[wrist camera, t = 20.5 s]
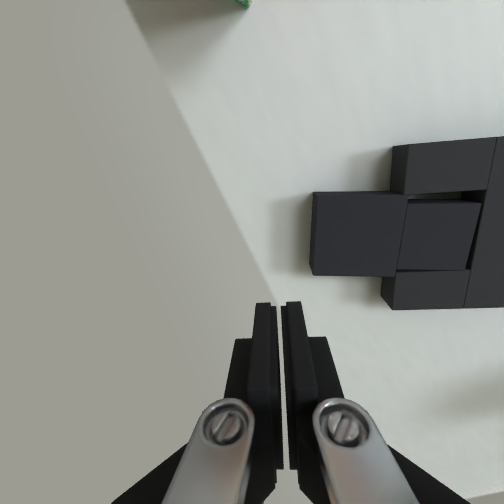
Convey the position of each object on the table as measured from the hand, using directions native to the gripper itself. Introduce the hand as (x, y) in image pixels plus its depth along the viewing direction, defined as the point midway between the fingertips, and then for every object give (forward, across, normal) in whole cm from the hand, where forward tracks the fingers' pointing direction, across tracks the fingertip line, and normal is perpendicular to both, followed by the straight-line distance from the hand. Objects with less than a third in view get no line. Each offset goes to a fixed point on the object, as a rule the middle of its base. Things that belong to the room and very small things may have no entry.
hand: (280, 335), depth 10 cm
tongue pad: (+16, -10, +1) cm, 19 cm away
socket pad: (+16, -16, +1) cm, 23 cm away
